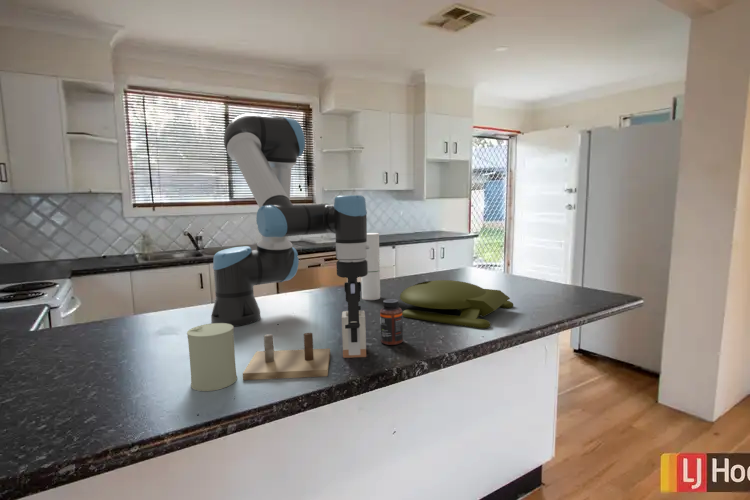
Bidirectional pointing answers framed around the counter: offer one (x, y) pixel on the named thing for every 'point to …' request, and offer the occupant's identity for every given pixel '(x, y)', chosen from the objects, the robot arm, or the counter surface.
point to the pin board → (288, 361)
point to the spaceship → (454, 302)
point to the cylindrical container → (372, 269)
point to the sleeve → (362, 335)
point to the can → (212, 356)
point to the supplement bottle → (391, 323)
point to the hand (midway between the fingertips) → (354, 344)
